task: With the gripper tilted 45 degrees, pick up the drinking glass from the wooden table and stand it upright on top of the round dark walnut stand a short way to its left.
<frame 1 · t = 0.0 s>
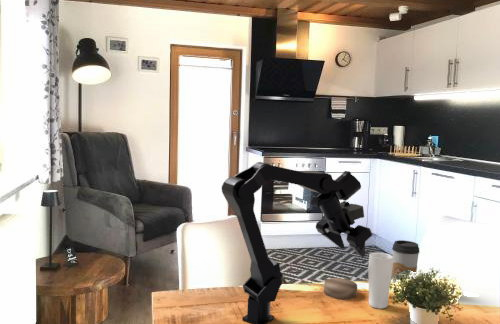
hand: (353, 252, 134), 15 cm above the table, tool tilted 35°, fingers open, 9 cm apart
walnut stand: (340, 293, 141), on the table
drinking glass: (377, 306, 133), on the table
coffee cup: (402, 289, 147), on the table
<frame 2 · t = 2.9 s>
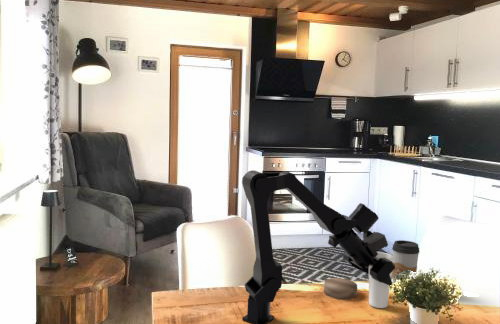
hand: (383, 280, 132), 8 cm above the table, tool tilted 45°, fingers open, 7 cm apart
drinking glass: (377, 306, 133), on the table, touching gripper
everything else where it was.
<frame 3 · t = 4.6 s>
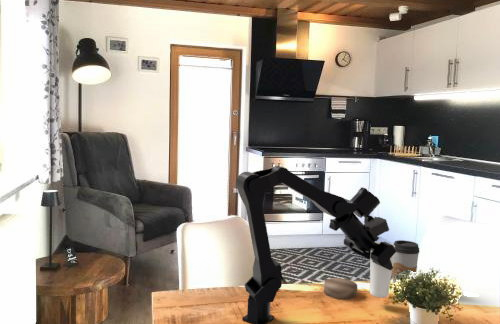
hand: (384, 265, 132), 12 cm above the table, tool tilted 45°, fingers closed on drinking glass, 7 cm apart
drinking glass: (378, 295, 133), point 3 cm above the table, touching gripper
everything else where it was.
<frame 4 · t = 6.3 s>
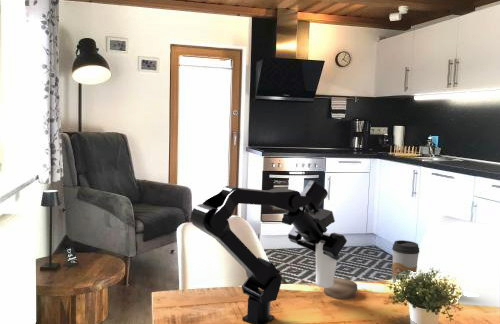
hand: (328, 255, 135), 13 cm above the table, tool tilted 45°, fingers closed on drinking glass, 7 cm apart
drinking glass: (324, 286, 135), point 4 cm above the table, touching gripper
everything else where it was.
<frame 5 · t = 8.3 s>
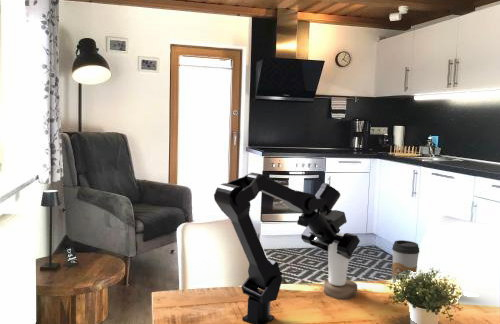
hand: (340, 254, 140), 12 cm above the table, tool tilted 45°, fingers closed on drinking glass, 7 cm apart
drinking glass: (336, 284, 140), point 3 cm above the table, touching gripper
everything else where it was.
when the fingers open (12 cm above the table, at t = 9.4 s): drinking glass stays where it is, resting on walnut stand.
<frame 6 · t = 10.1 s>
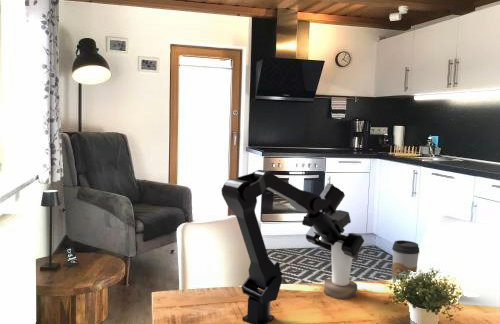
hand: (345, 254, 141), 12 cm above the table, tool tilted 45°, fingers open, 9 cm apart
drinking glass: (340, 284, 141), point 3 cm above the table, touching walnut stand
everything else where it was.
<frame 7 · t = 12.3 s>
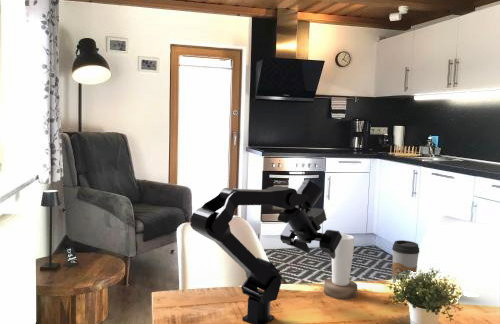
hand: (321, 254, 135), 13 cm above the table, tool tilted 40°, fingers open, 9 cm apart
nothing on the table moved.
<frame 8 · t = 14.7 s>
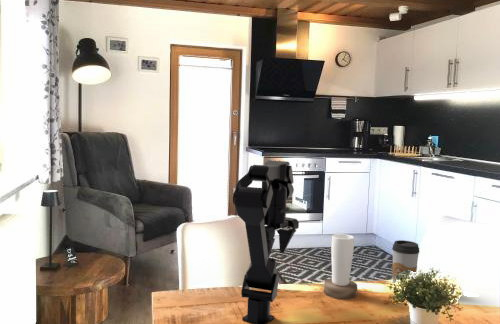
hand: (274, 256, 133), 13 cm above the table, tool pointing down, fingers open, 9 cm apart
nothing on the table moved.
at the end: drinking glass 0.1 cm off-centre on the walnut stand, point 2.8 cm above the walnut stand's base; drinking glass tilted 0°; the gripper is holding nothing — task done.
